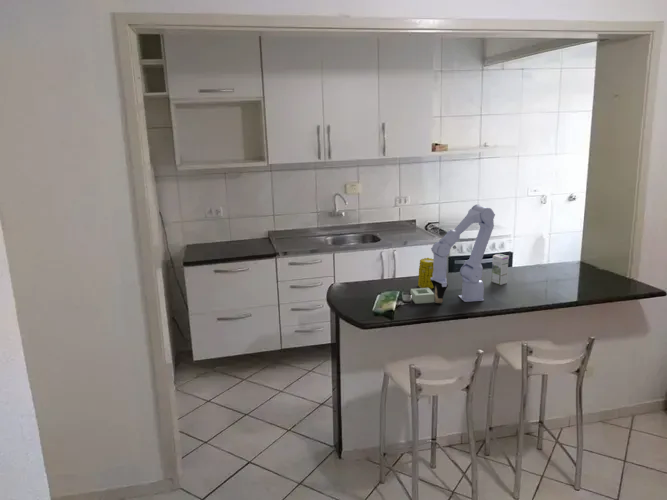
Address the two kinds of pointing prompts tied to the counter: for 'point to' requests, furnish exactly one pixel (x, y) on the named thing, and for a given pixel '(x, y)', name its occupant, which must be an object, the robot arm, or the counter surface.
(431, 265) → the food
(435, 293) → the beech peg
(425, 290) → the socket block
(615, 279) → the counter surface
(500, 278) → the syrup box
